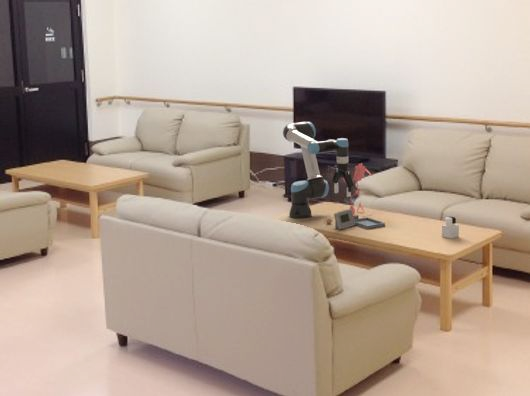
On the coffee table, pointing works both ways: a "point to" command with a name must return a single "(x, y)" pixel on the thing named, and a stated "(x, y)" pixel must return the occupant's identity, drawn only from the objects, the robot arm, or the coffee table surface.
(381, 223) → the tray
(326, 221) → the terracotta ball
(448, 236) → the medicine bottle
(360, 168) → the figurine
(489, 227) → the coffee table surface
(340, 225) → the digital clock
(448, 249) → the coffee table surface
